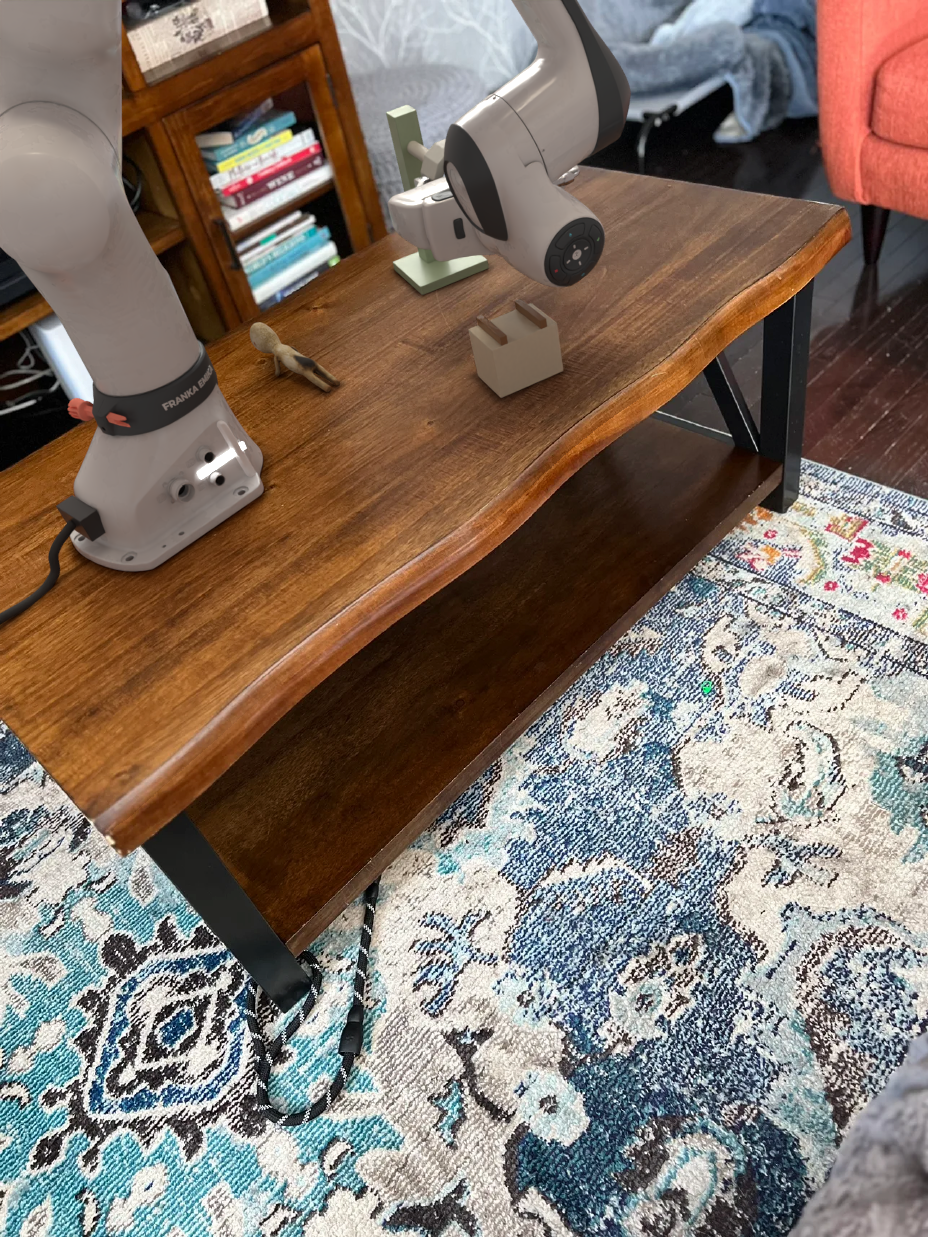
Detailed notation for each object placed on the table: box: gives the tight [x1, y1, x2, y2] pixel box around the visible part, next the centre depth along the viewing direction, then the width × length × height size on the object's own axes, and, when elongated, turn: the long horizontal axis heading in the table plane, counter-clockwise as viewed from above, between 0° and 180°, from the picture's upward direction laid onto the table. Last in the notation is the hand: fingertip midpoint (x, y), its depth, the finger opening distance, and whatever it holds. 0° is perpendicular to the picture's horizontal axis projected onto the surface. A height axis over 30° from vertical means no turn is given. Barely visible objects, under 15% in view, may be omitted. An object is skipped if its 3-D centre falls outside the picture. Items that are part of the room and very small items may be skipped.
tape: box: [421, 138, 446, 181], centre depth 112 cm, size 4×7×7 cm, turn 115°
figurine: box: [249, 321, 341, 393], centre depth 117 cm, size 4×4×15 cm
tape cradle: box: [468, 298, 564, 399], centre depth 106 cm, size 6×8×7 cm
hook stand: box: [385, 104, 490, 296], centre depth 123 cm, size 12×10×20 cm
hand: (450, 172), depth 112 cm, fingers closed on tape, 6 cm apart
